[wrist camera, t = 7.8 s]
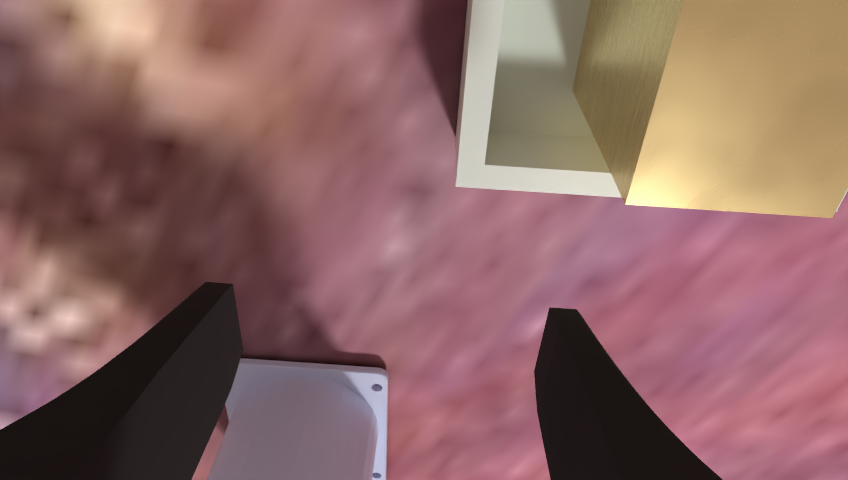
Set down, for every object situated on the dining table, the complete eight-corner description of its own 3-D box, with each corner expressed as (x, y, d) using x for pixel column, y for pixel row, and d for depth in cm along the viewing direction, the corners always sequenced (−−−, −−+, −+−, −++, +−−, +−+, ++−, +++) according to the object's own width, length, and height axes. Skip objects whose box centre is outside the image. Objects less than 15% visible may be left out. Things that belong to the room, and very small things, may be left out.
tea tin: (714, 99, 18) (831, 217, 13) (572, 90, 18) (625, 204, 13) (769, -59, 16) (947, -1, 10) (604, -69, 16) (688, -17, 10)
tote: (783, 159, 21) (836, 211, 18) (455, 138, 21) (455, 186, 18) (931, -174, 15) (1043, -177, 12) (485, -200, 15) (491, -210, 12)
